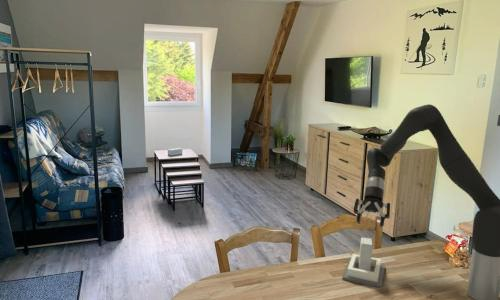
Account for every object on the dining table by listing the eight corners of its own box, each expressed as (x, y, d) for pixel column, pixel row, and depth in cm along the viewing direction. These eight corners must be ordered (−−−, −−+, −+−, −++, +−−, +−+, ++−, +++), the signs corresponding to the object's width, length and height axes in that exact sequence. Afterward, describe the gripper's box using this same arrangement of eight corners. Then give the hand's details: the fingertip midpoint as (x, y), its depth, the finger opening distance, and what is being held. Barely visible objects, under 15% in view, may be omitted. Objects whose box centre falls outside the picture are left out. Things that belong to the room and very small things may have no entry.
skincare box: (370, 273, 147) (372, 245, 145) (358, 272, 148) (360, 243, 146) (369, 266, 153) (371, 238, 151) (358, 264, 154) (360, 237, 152)
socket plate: (384, 267, 154) (385, 258, 153) (381, 287, 140) (382, 277, 139) (349, 260, 160) (349, 251, 159) (342, 279, 145) (343, 269, 145)
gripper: (357, 183, 163) (351, 218, 155) (392, 187, 157) (388, 224, 149) (357, 191, 169) (352, 225, 161) (392, 196, 163) (388, 231, 155)
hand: (369, 224), depth 155 cm, fingers open, 8 cm apart
